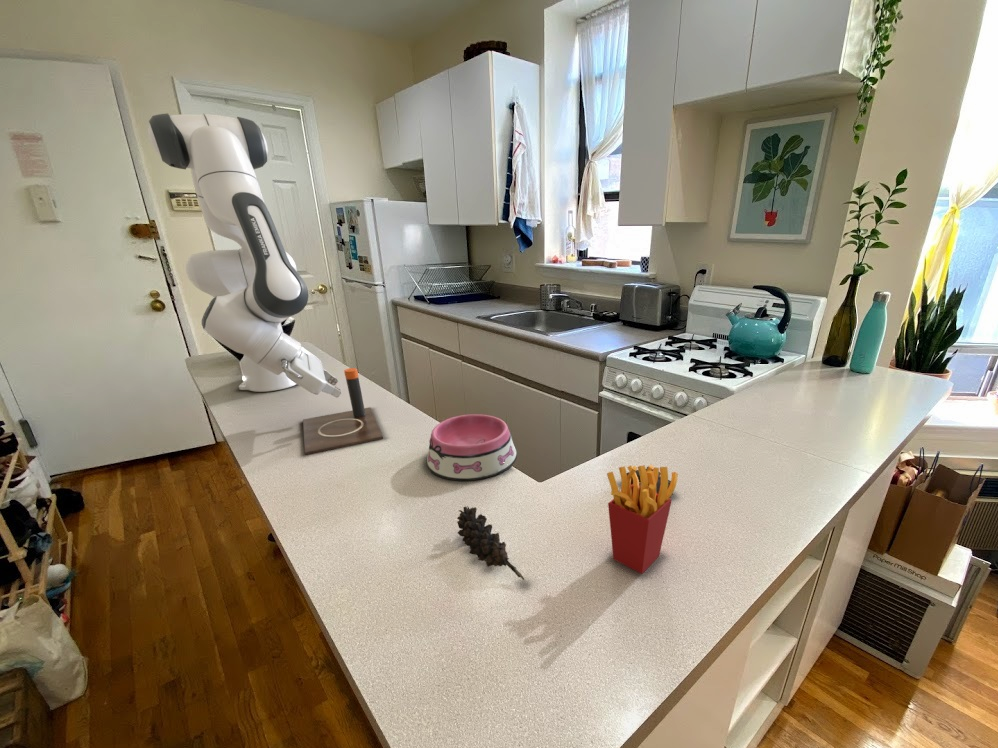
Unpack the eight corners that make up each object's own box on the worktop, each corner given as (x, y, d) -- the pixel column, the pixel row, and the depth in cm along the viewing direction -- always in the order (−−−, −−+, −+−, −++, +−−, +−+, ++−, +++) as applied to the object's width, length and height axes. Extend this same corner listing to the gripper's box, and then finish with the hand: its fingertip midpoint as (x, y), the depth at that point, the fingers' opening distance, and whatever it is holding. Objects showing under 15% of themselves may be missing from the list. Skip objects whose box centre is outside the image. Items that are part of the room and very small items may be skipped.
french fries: (644, 581, 63) (651, 487, 57) (595, 555, 68) (597, 467, 62) (674, 548, 70) (684, 461, 64) (627, 526, 75) (632, 443, 69)
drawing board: (303, 421, 115) (302, 418, 115) (370, 409, 122) (370, 406, 122) (305, 455, 99) (304, 451, 99) (383, 438, 106) (382, 435, 105)
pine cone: (447, 533, 74) (444, 505, 72) (476, 521, 76) (473, 494, 74) (499, 601, 61) (496, 569, 58) (532, 584, 63) (530, 554, 61)
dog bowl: (534, 461, 95) (533, 431, 92) (451, 492, 85) (447, 459, 82) (489, 431, 108) (487, 404, 106) (413, 454, 98) (408, 425, 95)
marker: (352, 414, 118) (343, 369, 113) (364, 411, 119) (356, 367, 114) (354, 418, 115) (344, 372, 110) (366, 415, 116) (357, 370, 112)
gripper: (291, 355, 96) (350, 391, 104) (290, 335, 113) (342, 367, 121) (272, 379, 96) (333, 413, 104) (274, 355, 113) (327, 386, 121)
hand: (337, 388), depth 113 cm, fingers open, 8 cm apart
